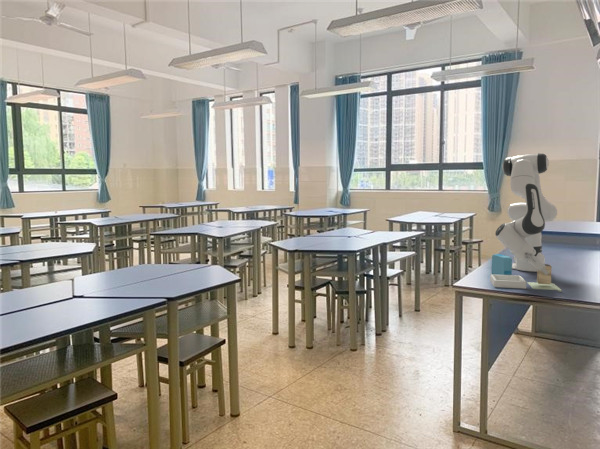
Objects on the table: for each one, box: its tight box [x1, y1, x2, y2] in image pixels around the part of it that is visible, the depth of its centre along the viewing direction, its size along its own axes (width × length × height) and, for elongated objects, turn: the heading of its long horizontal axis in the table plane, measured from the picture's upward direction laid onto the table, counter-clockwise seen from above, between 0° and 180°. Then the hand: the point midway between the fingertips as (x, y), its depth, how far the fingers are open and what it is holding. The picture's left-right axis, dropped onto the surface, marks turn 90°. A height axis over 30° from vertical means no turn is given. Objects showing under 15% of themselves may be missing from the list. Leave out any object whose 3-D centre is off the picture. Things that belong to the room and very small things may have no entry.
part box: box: [536, 263, 553, 284], centre depth 209 cm, size 5×5×9 cm
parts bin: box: [489, 273, 527, 289], centre depth 214 cm, size 14×14×4 cm
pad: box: [526, 281, 563, 293], centre depth 210 cm, size 14×12×1 cm
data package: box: [491, 253, 513, 275], centre depth 232 cm, size 12×4×12 cm, turn 5°
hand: (545, 272), depth 209 cm, fingers closed on part box, 5 cm apart
